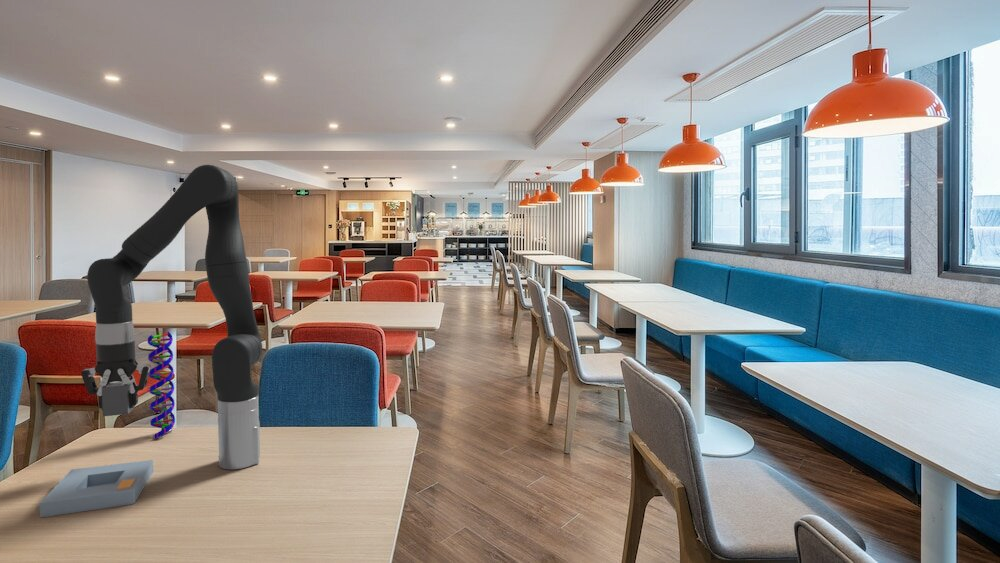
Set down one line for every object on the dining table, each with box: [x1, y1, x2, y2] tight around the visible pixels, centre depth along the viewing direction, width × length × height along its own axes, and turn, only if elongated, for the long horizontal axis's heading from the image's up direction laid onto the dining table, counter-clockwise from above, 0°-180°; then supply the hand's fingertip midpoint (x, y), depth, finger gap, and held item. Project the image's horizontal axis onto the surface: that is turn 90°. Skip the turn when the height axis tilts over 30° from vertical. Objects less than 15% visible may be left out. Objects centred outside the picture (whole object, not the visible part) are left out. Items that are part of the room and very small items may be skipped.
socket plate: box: [38, 459, 154, 518], centre depth 113 cm, size 16×16×3 cm
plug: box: [102, 381, 134, 417], centre depth 124 cm, size 5×5×7 cm
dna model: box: [147, 331, 176, 440], centre depth 144 cm, size 6×6×30 cm
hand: (118, 408), depth 124 cm, fingers closed on plug, 5 cm apart
